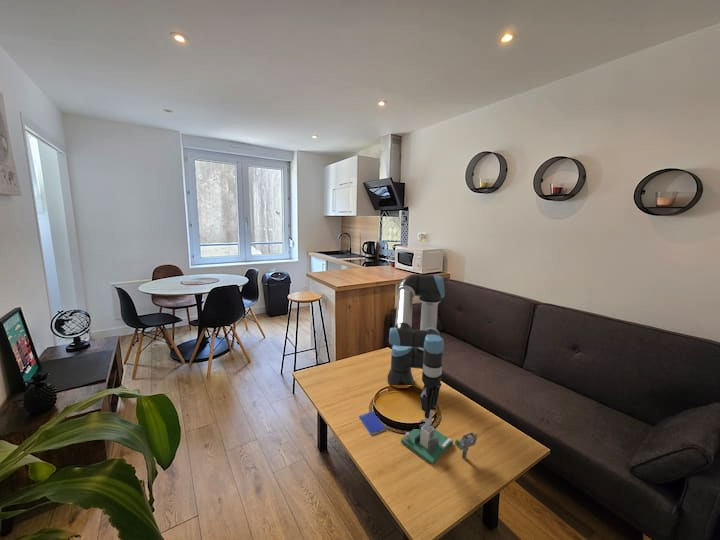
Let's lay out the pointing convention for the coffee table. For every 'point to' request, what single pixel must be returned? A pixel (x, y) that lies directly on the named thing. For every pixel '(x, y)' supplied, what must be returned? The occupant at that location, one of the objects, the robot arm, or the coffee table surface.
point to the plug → (426, 435)
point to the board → (421, 450)
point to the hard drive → (372, 423)
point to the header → (431, 445)
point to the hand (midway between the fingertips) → (428, 422)
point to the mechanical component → (466, 443)
